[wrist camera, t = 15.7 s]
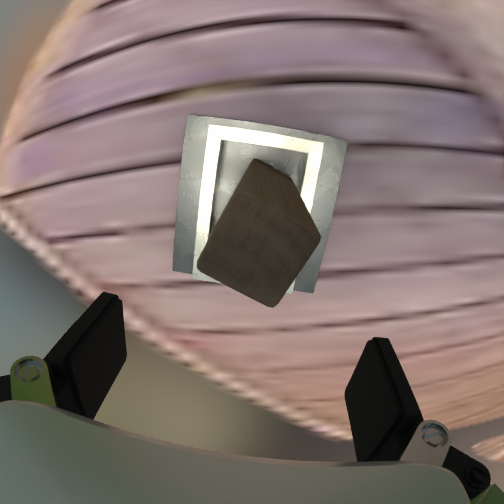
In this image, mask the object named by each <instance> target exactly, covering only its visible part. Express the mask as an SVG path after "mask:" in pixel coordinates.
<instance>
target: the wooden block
mask: <svg viewBox="0 0 504 504" xmlns="http://www.w3.org/2000/svg"><path fill="white" fill-rule="evenodd" d="M320 240H321V235H320V233H319V231H318V229H317V227H316V225H315V223H314V221H313V219H312V217H311V215H310V213H309V211H308V209H307V207H306V205H305V203H304V201H303V199H302V197H301V195H300V193H299V191H298V190H297V188H296V186H295V184H294V182H293V180H292V179H291V178H290V177H289V176H287V175H285V174H283V173H282V172H280V171H278V170H277V169H275V168H273V167H271V166H269V165H268V164H266V163H264V162H262V161H261V160H259V159H255V158H254V159H253V160H252V161H251V162H250V164H249V166H248V168H247V170H246V171H245V173H244V175H243V177H242V178H241V180H240V182H239V184H238V186H237V187H236V189H235V191H234V193H233V194H232V196H231V198H230V200H229V202H228V204H227V205H226V207H225V209H224V211H223V213H222V215H221V216H220V218H219V220H218V222H217V224H216V226H215V227H214V229H213V231H212V233H211V235H210V237H209V239H208V241H207V242H206V245H205V247H204V248H203V250H202V252H201V254H200V256H199V258H198V260H197V269H198V270H199V271H200V272H201V273H203V274H205V275H207V276H209V277H211V278H213V279H215V280H217V281H219V282H220V283H222V284H224V285H226V286H228V287H230V288H232V289H234V290H236V291H238V292H240V293H242V294H244V295H246V296H248V297H250V298H252V299H254V300H256V301H258V302H260V303H262V304H264V305H266V306H268V307H275V306H276V305H277V304H278V303H279V302H280V300H281V299H282V297H283V296H284V295H285V293H286V292H287V290H288V289H289V287H290V286H291V284H292V283H293V282H294V280H295V279H296V277H297V276H298V274H299V273H300V271H301V270H302V268H303V267H304V265H305V264H306V263H307V261H308V260H309V258H310V257H311V255H312V254H313V252H314V251H315V249H316V248H317V246H318V245H319V243H320Z"/></svg>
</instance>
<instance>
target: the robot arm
mask: <svg viewBox="0 0 504 504" xmlns="http://www.w3.org/2000/svg"><path fill="white" fill-rule="evenodd" d="M126 357H127V351H126V341H125V330H124V318H123V304H122V300H120V299H119V297H118V296H117V295H115V294H111V293H107V292H103V293H101V294H100V296H99V297H98V298H97V299H96V300H95V301H94V302H93V303H92V304H91V305H90V307H89V308H88V309H87V310H86V311H85V312H84V313H83V314H82V315H81V317H80V318H79V319H78V320H77V321H76V322H75V323H74V324H73V325H72V326H71V327H70V328H69V329H68V331H67V332H66V333H65V334H64V335H63V336H62V338H61V339H60V340H59V341H58V342H57V343H56V345H55V346H54V347H53V348H52V349H51V351H50V352H49V353H48V354H47V355H46V357H45V358H44V359H41V358H39V357H36V356H25V357H22V358H20V359H18V360H17V361H15V362H14V364H13V365H12V367H11V370H10V375H6V376H1V377H0V504H504V492H503V491H502V490H501V489H500V488H499V487H498V486H497V485H496V484H493V485H491V484H490V480H491V478H490V473H489V471H488V469H487V468H486V467H485V466H484V465H483V464H482V463H480V462H478V461H476V460H475V459H473V458H471V457H469V456H468V455H466V454H464V453H463V452H461V451H459V450H458V449H456V448H454V447H452V446H451V445H450V444H451V440H452V438H451V433H450V431H449V430H448V428H447V427H446V426H445V425H443V424H442V423H441V422H438V421H436V420H425V421H424V420H423V417H422V414H421V411H420V409H419V406H418V404H417V402H416V399H415V397H414V394H413V392H412V390H411V387H410V385H409V383H408V380H407V378H406V376H405V373H404V371H403V369H402V367H401V365H400V362H399V360H398V358H397V356H396V354H395V351H394V349H393V347H392V345H391V343H390V341H389V339H388V338H380V337H373V338H372V340H369V341H368V342H367V343H366V346H365V348H364V350H363V353H362V355H361V357H360V359H359V362H358V364H357V366H356V368H355V370H354V373H353V375H352V377H351V379H350V381H349V383H348V385H347V387H346V390H345V401H346V406H347V411H348V416H349V421H350V426H351V431H352V436H353V441H354V446H355V452H356V457H357V462H311V461H292V460H278V459H268V458H267V459H266V458H257V457H249V456H241V455H234V454H227V453H221V452H215V451H209V450H204V449H199V448H194V447H189V446H184V445H179V444H175V443H171V442H166V441H162V440H158V439H154V438H151V437H146V436H143V435H140V434H136V433H133V432H129V431H126V430H123V429H120V428H117V427H113V426H110V425H107V424H104V423H101V422H98V421H95V420H93V419H94V417H95V416H96V413H97V411H98V410H99V408H100V406H101V404H102V402H103V401H104V399H105V397H106V395H107V393H108V391H109V390H110V388H111V386H112V384H113V382H114V381H115V379H116V377H117V375H118V373H119V372H120V370H121V368H122V366H123V364H124V363H125V361H126Z"/></svg>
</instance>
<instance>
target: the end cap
mask: <svg viewBox="0 0 504 504" xmlns="http://www.w3.org/2000/svg"><path fill="white" fill-rule="evenodd" d="M347 143H348V141H347V140H343V139H339V138H334V137H330V136H325V135H321V134H316V133H311V132H306V131H301V130H296V129H290V128H285V127H279V126H273V125H267V124H260V123H254V122H247V121H239V120H232V119H224V118H215V117H205V116H195V115H187V122H186V129H185V137H184V144H183V153H182V161H181V170H180V179H179V189H178V200H177V211H176V224H175V237H174V253H173V271H177V272H183V273H189V274H193V275H192V278H193V279H199V280H204V281H210V282H216V283H220V282H219V281H217V280H215V279H213V278H211V277H209V276H207V275H205V274H203V273H201V272H200V271H199V270H198V269H197V260H198V258H199V256H200V254H201V252H202V250H203V248H204V247H205V245H206V242H207V241H208V239H209V237H210V235H211V233H212V231H213V229H214V227H215V226H216V224H217V222H218V220H219V218H220V216H221V215H222V213H223V211H224V209H225V207H226V205H227V204H228V202H229V200H230V198H231V196H232V194H233V193H234V191H235V189H236V187H237V186H238V184H239V182H240V180H241V178H242V177H243V175H244V173H245V171H246V170H247V168H248V166H249V164H250V162H251V161H252V160H253V159H254V158H255V159H259V160H261V161H262V162H264V163H266V164H268V165H269V166H271V167H273V168H275V169H277V170H278V171H280V172H282V173H283V174H285V175H287V176H289V177H290V178H291V179H292V180H293V182H294V184H295V186H296V188H297V190H298V191H299V193H300V195H301V197H302V199H303V201H304V203H305V205H306V207H307V209H308V211H309V213H310V215H311V217H312V219H313V221H314V223H315V225H316V227H317V229H318V231H319V233H320V235H321V240H320V243H319V245H318V246H317V248H316V249H315V251H314V252H313V254H312V255H311V257H310V258H309V260H308V261H307V263H306V264H305V265H304V267H303V268H302V270H301V271H300V273H299V274H298V276H297V277H296V279H295V280H294V282H293V283H292V284H291V286H290V287H289V289H288V290H287V292H286V294H292V292H293V290H295V291H302V292H309V293H313V292H314V288H315V284H316V280H317V277H318V273H319V269H320V265H321V261H322V257H323V253H324V249H325V245H326V241H327V237H328V232H329V228H330V224H331V220H332V215H333V211H334V206H335V202H336V197H337V193H338V188H339V183H340V178H341V173H342V168H343V163H344V158H345V153H346V148H347Z"/></svg>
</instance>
